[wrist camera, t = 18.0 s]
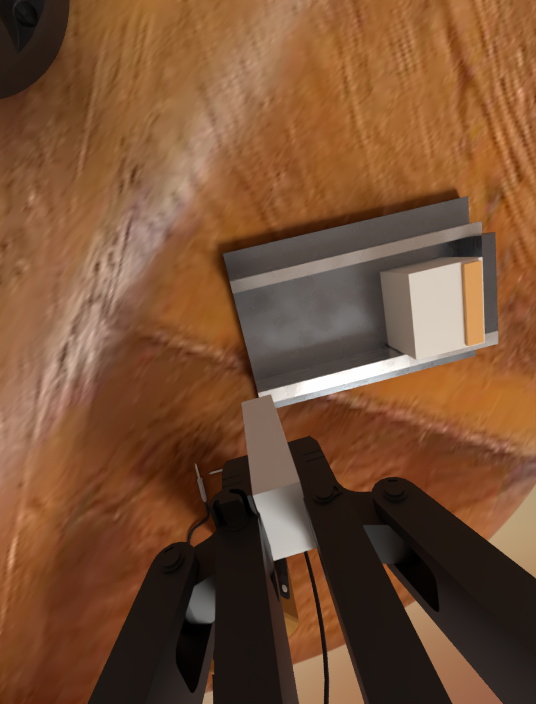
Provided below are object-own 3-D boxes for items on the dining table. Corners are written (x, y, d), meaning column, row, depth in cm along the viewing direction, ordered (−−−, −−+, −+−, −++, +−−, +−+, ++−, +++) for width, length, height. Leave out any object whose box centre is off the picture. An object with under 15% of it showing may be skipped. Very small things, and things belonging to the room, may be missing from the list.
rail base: (222, 253, 29) (222, 253, 26) (460, 198, 31) (494, 189, 27) (261, 407, 34) (266, 426, 30) (468, 352, 35) (498, 364, 31)
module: (379, 271, 31) (410, 274, 25) (442, 257, 31) (485, 257, 26) (388, 345, 33) (418, 361, 27) (447, 330, 33) (487, 343, 28)
